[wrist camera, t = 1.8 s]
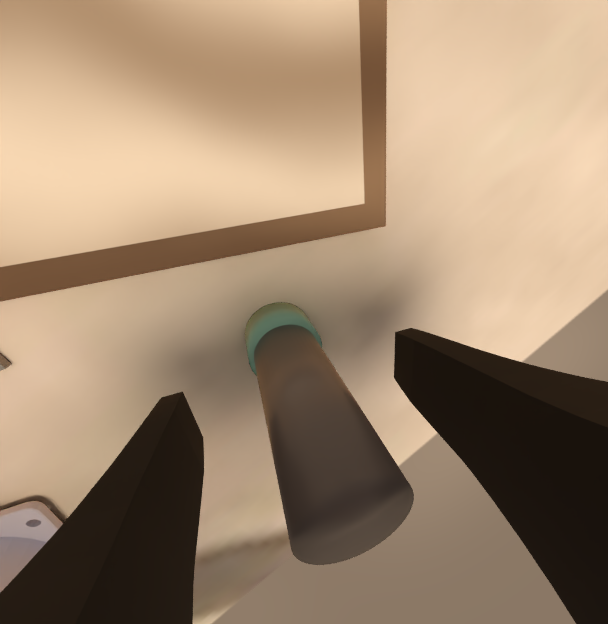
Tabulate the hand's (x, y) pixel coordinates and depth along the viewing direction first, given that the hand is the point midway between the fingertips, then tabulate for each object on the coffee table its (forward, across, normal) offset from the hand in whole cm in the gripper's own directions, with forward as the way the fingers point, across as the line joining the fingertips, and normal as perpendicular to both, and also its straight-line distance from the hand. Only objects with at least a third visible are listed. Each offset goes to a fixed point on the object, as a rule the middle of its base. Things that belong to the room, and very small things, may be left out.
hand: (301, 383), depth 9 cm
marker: (+4, 0, 0) cm, 4 cm away
